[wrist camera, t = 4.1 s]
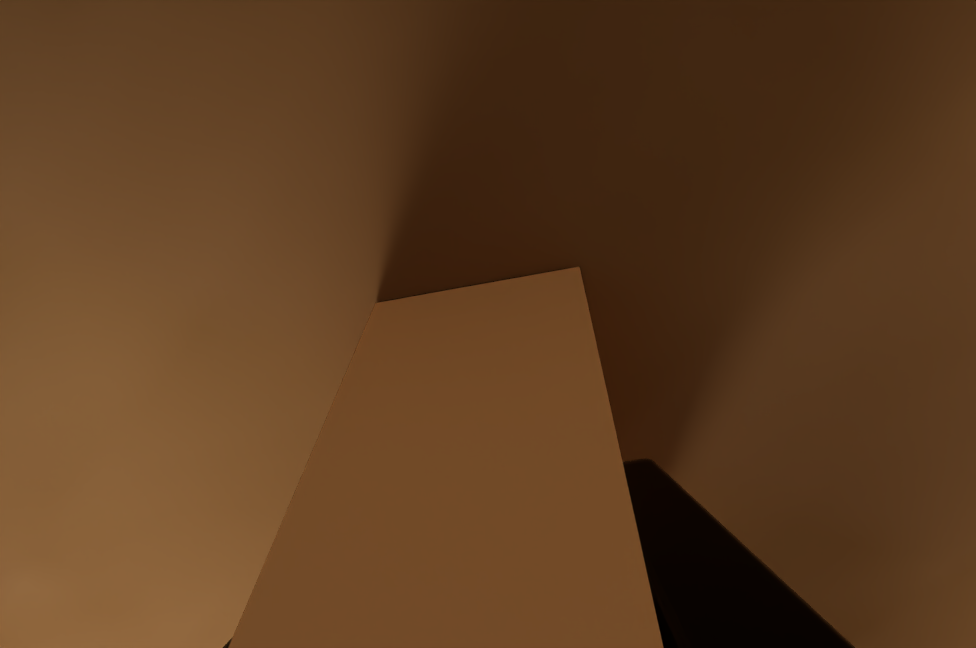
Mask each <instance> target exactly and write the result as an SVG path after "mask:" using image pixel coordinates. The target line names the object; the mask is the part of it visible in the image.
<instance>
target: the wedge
mask: <svg viewBox="0 0 976 648" xmlns="http://www.w3.org/2000/svg"><path fill="white" fill-rule="evenodd" d="M228 648H663V643H662V639H661V634H660V630H659V625H658V621H657V616H656V612H655V607H654V603H653V598H652V593H651V589H650V584H649V580H648V575H647V571H646V566H645V562H644V557H643V553H642V548H641V544H640V539H639V534H638V530H637V525H636V521H635V516H634V512H633V507H632V503H631V498H630V494H629V489H628V485H627V480H626V475H625V471H624V466H623V462H622V457H621V453H620V448H619V444H618V439H617V435H616V430H615V426H614V421H613V416H612V412H611V407H610V403H609V398H608V394H607V389H606V385H605V380H604V376H603V371H602V367H601V362H600V357H599V353H598V348H597V344H596V339H595V335H594V330H593V326H592V321H591V317H590V312H589V308H588V303H587V298H586V294H585V289H584V285H583V280H582V276H581V271H580V267H574V268H569V269H563V270H557V271H552V272H546V273H541V274H535V275H530V276H524V277H518V278H513V279H507V280H502V281H496V282H490V283H485V284H479V285H474V286H468V287H463V288H457V289H451V290H446V291H440V292H435V293H429V294H423V295H418V296H412V297H407V298H401V299H395V300H390V301H384V302H379V303H375V305H374V308H373V310H372V313H371V315H370V317H369V320H368V322H367V324H366V327H365V329H364V331H363V334H362V336H361V338H360V341H359V343H358V345H357V348H356V350H355V352H354V355H353V357H352V359H351V362H350V364H349V366H348V369H347V371H346V373H345V376H344V378H343V380H342V383H341V385H340V387H339V390H338V392H337V394H336V397H335V399H334V402H333V404H332V406H331V409H330V411H329V413H328V416H327V418H326V420H325V423H324V425H323V427H322V430H321V432H320V434H319V437H318V439H317V441H316V444H315V446H314V448H313V451H312V453H311V455H310V458H309V460H308V462H307V465H306V467H305V469H304V472H303V474H302V476H301V479H300V481H299V483H298V486H297V488H296V490H295V493H294V495H293V498H292V500H291V502H290V505H289V507H288V509H287V512H286V514H285V516H284V519H283V521H282V523H281V526H280V528H279V530H278V533H277V535H276V537H275V540H274V542H273V544H272V547H271V549H270V551H269V554H268V556H267V558H266V561H265V563H264V565H263V568H262V570H261V572H260V575H259V577H258V579H257V582H256V584H255V587H254V589H253V591H252V594H251V596H250V598H249V601H248V603H247V605H246V608H245V610H244V612H243V615H242V617H241V619H240V622H239V624H238V626H237V629H236V631H235V633H234V636H233V638H232V640H231V643H230V645H229V647H228Z"/></svg>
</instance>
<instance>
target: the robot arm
mask: <svg viewBox="0 0 976 648" xmlns="http://www.w3.org/2000/svg"><path fill="white" fill-rule="evenodd" d="M623 466H624V471H625V475H626V480H627V485H628V489H629V494H630V498H631V503H632V507H633V512H634V516H635V521H636V525H637V530H638V534H639V539H640V544H641V548H642V553H643V557H644V562H645V566H646V571H647V575H648V580H649V584H650V589H651V593H652V598H653V603H654V607H655V612H656V616H657V621H658V625H659V630H660V634H661V639H662V643H663V648H855V647H854V646H853V645H852V644H851V643H850V642H848V641H847V640H846V639H845V638H844V637H843V636H842V635H841V634H840V633H839V632H838V631H837V630H835V629H834V628H833V627H832V626H831V625H830V624H829V623H828V622H827V621H826V620H825V619H824V618H822V617H821V616H820V615H819V614H818V613H817V612H816V611H815V610H814V609H813V608H812V607H811V606H809V605H808V604H807V603H806V602H805V601H804V600H803V599H802V598H801V597H800V596H799V595H798V594H797V593H795V592H794V591H793V590H792V589H791V588H790V587H789V586H788V585H787V584H786V583H785V582H784V581H782V580H781V579H780V578H779V577H778V576H777V575H776V574H775V573H774V572H773V571H772V570H771V569H769V568H768V567H767V566H766V565H765V564H764V563H763V562H762V561H761V560H760V559H759V558H758V557H756V556H755V555H754V554H753V553H752V552H751V551H750V550H749V549H748V548H747V547H746V546H745V545H744V544H742V543H741V542H740V541H739V540H738V539H737V538H736V537H735V536H734V535H733V534H732V533H731V532H729V531H728V530H727V529H726V528H725V527H724V526H723V525H722V524H721V523H720V522H719V521H718V520H716V519H715V518H714V517H713V516H712V515H711V514H710V513H709V512H708V511H707V510H706V509H705V508H703V507H702V506H701V505H700V504H699V503H698V502H697V501H696V500H695V499H694V498H693V497H692V496H691V495H689V494H688V493H687V492H686V491H685V490H684V489H683V488H682V487H681V486H680V485H679V484H678V483H676V482H675V481H674V480H673V479H672V478H671V477H670V476H669V475H668V474H667V473H666V472H665V471H663V470H662V469H661V468H660V467H659V466H658V465H657V464H656V463H655V462H654V461H652V460H650V459H639V460H632V461H625V462H623ZM232 638H233V637H232ZM232 638H231V639H230V641H229V642H228V643H227V644H226V645H225V646H224V647H223V648H228V647H229V645H230V643H231V640H232Z"/></svg>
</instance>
